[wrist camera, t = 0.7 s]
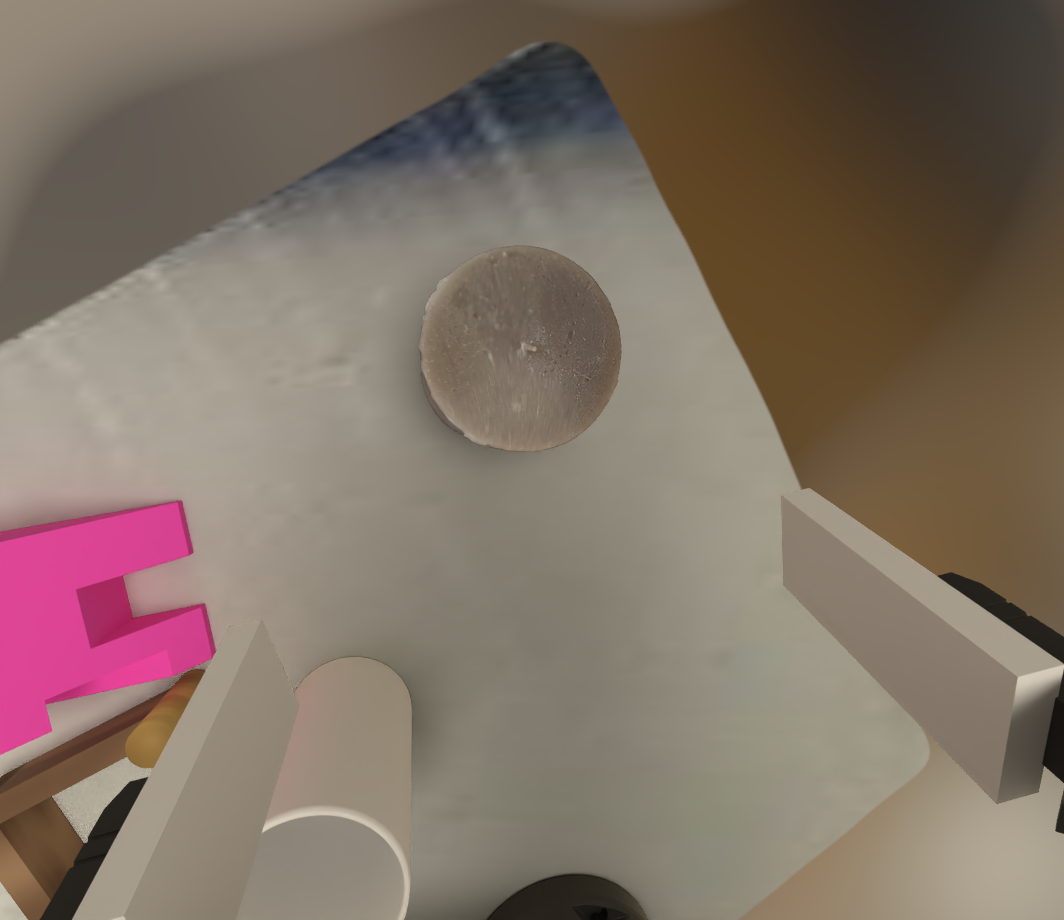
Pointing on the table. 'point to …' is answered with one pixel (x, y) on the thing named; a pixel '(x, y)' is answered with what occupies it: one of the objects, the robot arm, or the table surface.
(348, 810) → the cup
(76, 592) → the bracket
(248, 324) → the table surface
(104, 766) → the bay
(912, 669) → the robot arm
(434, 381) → the pillar candle
